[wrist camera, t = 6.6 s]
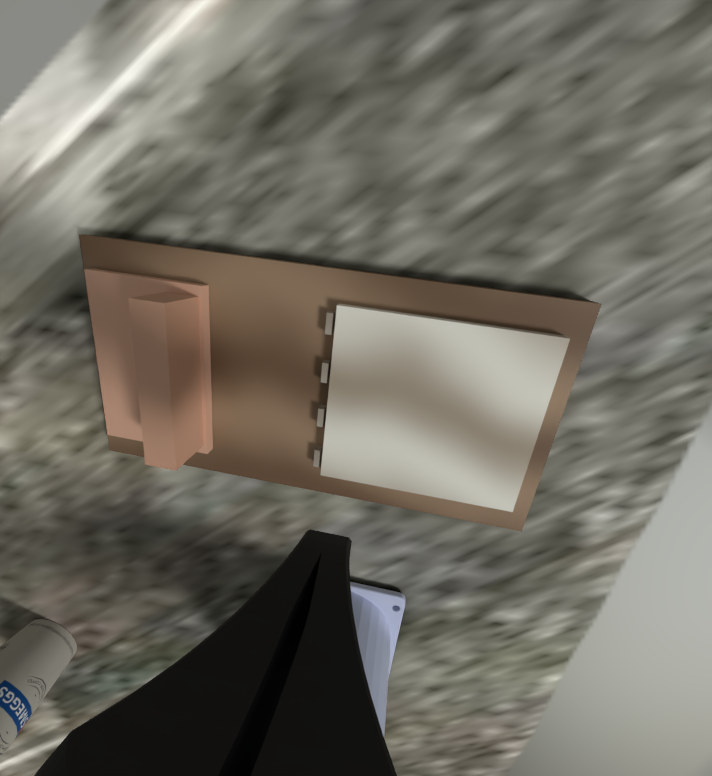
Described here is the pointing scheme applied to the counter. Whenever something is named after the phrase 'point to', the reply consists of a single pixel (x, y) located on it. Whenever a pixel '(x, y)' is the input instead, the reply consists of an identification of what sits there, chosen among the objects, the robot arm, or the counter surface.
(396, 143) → the counter surface
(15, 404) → the counter surface
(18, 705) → the coffee cup
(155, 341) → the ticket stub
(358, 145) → the counter surface
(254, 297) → the board
